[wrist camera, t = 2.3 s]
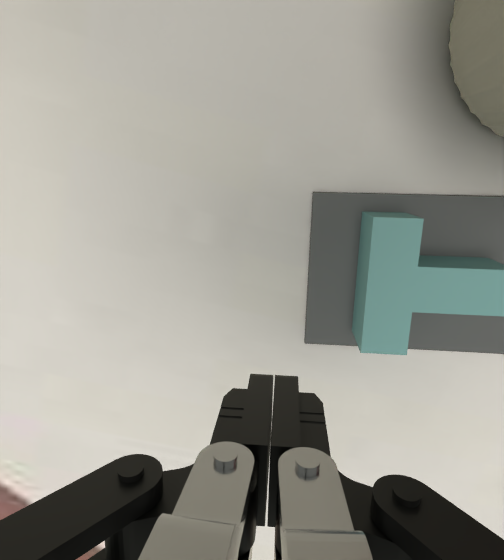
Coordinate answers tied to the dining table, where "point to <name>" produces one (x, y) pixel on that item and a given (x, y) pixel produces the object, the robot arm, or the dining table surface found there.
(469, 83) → the canister
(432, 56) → the dining table surface
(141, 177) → the dining table surface
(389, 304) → the t block
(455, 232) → the mat
